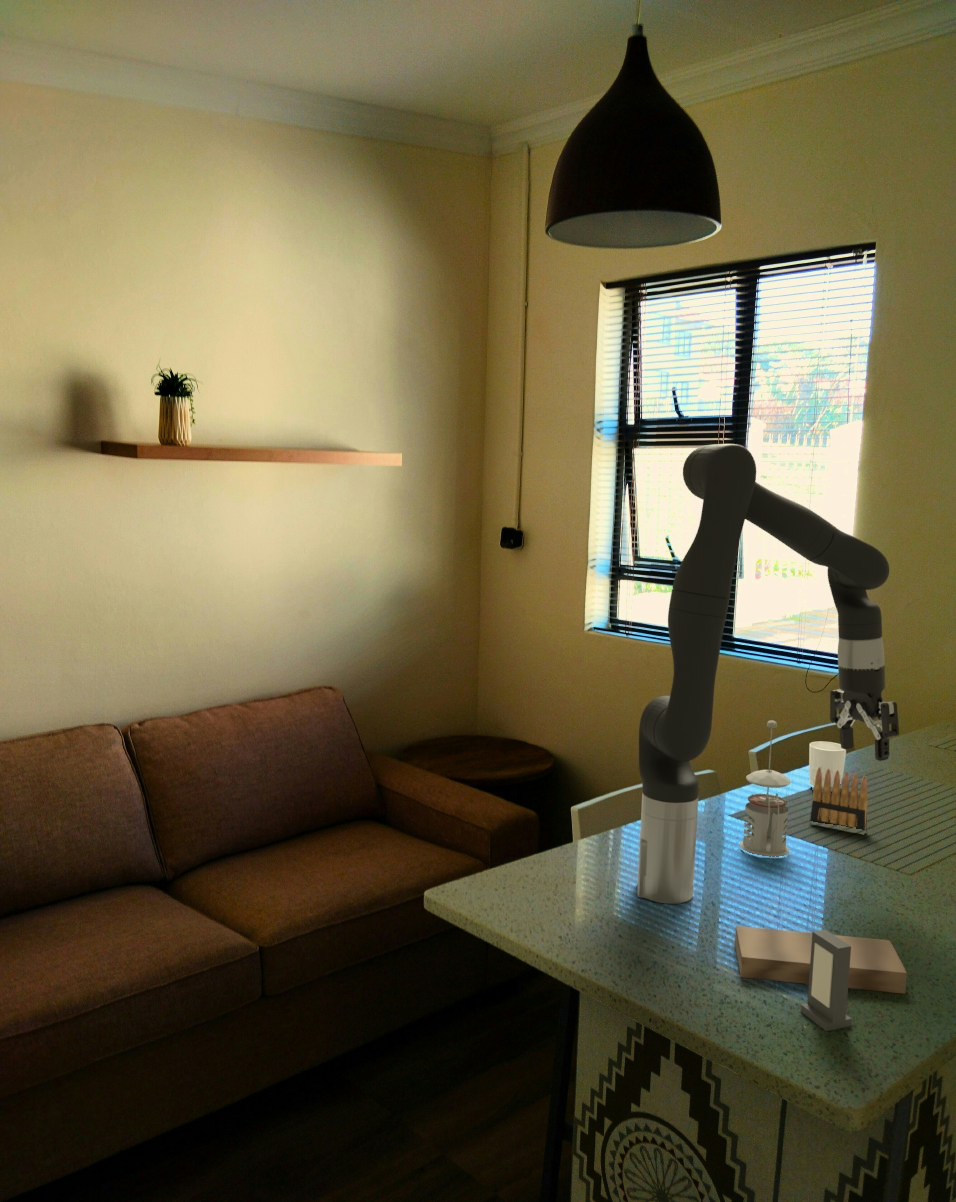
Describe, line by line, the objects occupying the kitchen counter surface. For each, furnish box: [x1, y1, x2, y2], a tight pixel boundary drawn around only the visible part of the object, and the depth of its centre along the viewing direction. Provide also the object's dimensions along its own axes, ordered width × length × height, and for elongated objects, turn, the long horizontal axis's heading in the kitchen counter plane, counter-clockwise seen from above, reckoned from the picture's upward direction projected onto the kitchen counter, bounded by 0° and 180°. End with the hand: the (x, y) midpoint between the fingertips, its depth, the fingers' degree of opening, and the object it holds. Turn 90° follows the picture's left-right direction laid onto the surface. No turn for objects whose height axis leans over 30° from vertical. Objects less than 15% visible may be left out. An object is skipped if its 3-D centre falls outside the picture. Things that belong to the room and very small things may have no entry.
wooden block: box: [734, 925, 908, 994], centre depth 146 cm, size 22×10×3 cm, turn 81°
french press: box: [739, 719, 792, 857], centre depth 190 cm, size 10×12×25 cm
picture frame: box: [800, 929, 853, 1032], centre depth 132 cm, size 4×5×11 cm
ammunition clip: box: [809, 767, 868, 830], centre depth 204 cm, size 11×2×12 cm, turn 57°
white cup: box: [808, 740, 847, 787], centre depth 230 cm, size 8×8×10 cm
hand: (864, 754), depth 177 cm, fingers open, 8 cm apart
